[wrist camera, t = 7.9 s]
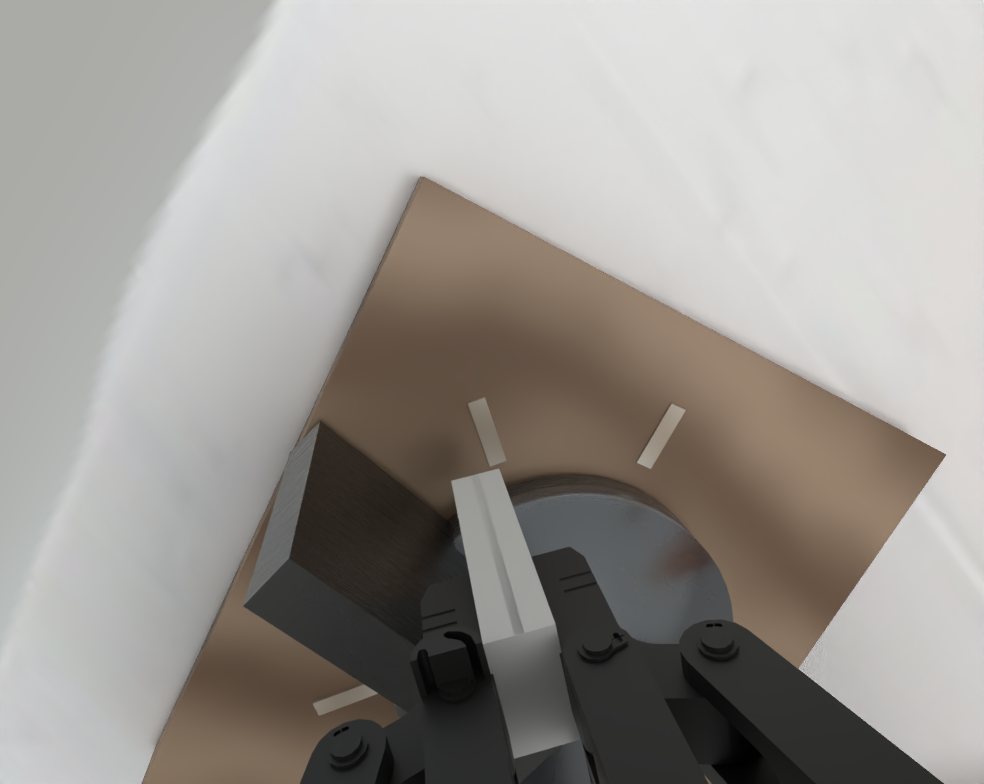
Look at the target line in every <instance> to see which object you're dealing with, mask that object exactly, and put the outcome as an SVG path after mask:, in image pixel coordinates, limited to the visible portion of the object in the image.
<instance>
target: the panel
mask: <svg viewBox="0 0 984 784" xmlns="http://www.w3.org/2000/svg"><path fill="white" fill-rule="evenodd" d="M319 421H321V422H323V423H324V424H325V425H327V426H328V427H329V428H330V429H332V430H333V431H334V432H335V433H337V434H338V435H339V436H341V437H342V438H343V439H344V440H346V441H347V442H348V443H349V444H351V445H352V446H353V447H355V448H356V449H357V450H358V451H360V452H361V453H362V454H363V455H365V456H366V457H367V458H369V459H370V460H371V461H372V462H374V463H375V464H376V465H377V466H379V467H380V468H381V469H383V470H384V471H385V472H386V473H388V474H389V475H390V476H391V477H393V478H394V479H395V480H397V481H398V482H399V483H400V484H402V485H403V486H404V487H405V488H407V489H408V490H409V491H411V492H412V493H413V494H414V495H416V496H417V497H418V498H419V499H421V500H422V501H423V502H424V503H426V504H427V505H428V506H430V507H431V508H432V509H433V510H435V511H436V512H437V513H438V514H440V515H441V516H442V517H444V518H445V519H446V520H447V521H448V520H449V519H450V518H451V517H452V516H454V515H455V514H457V508H456V503H455V498H454V493H453V488H452V482H451V481H453V480H456V479H460V478H464V477H468V476H472V475H476V474H480V473H483V472H487V471H491V470H495V469H499V470H500V472H501V475H502V478H503V481H504V483H505V486H506V487H507V486H510V485H512V484H516V483H520V482H523V481H527V480H531V479H535V478H542V477H549V476H556V475H583V476H592V477H601V478H605V479H609V480H613V481H617V482H621V483H624V484H626V485H629V486H631V487H634V488H636V489H639V490H641V491H643V492H644V493H646V494H648V495H649V496H651V497H653V498H655V499H656V500H658V501H659V502H660V503H662V504H663V505H664V506H665V507H667V508H668V509H669V510H670V511H671V512H672V513H673V514H674V515H675V516H676V517H677V518H678V519H679V520H680V521H681V522H682V523H683V525H684V526H685V527H686V528H687V529H688V530H689V531H690V533H691V534H692V535H693V536H694V537H695V538H696V539H697V541H698V542H699V543H700V544H701V545H702V546H703V547H704V549H705V550H706V551H707V552H708V553H709V555H710V556H711V558H712V559H713V561H714V562H715V564H716V565H717V567H718V568H719V570H720V572H721V574H722V576H723V579H724V581H725V583H726V585H727V589H728V592H729V596H730V600H731V604H732V612H733V622H735V623H737V624H739V625H741V626H743V627H744V628H746V629H748V630H749V631H750V632H752V633H753V634H754V635H756V636H757V637H758V638H759V639H761V640H762V641H763V642H764V643H766V644H767V645H768V646H770V647H771V648H772V649H773V650H775V651H776V652H777V653H778V654H780V655H781V656H782V657H784V658H785V659H786V660H787V661H789V662H790V663H791V664H792V665H794V666H795V667H796V668H797V669H798V668H799V666H800V665H801V664H802V662H803V661H804V659H805V658H806V656H807V655H808V653H809V652H810V651H811V649H812V648H813V646H814V645H815V643H816V642H817V641H818V639H819V638H820V636H821V635H822V633H823V632H824V630H825V629H826V628H827V626H828V625H829V623H830V622H831V620H832V619H833V617H834V616H835V615H836V613H837V612H838V610H839V609H840V607H841V606H842V604H843V603H844V602H845V600H846V599H847V597H848V596H849V594H850V593H851V591H852V590H853V589H854V587H855V586H856V584H857V583H858V581H859V580H860V578H861V577H862V576H863V574H864V573H865V571H866V570H867V568H868V567H869V566H870V564H871V563H872V561H873V560H874V558H875V557H876V555H877V554H878V553H879V551H880V550H881V548H882V547H883V545H884V544H885V542H886V541H887V540H888V538H889V537H890V535H891V534H892V532H893V531H894V529H895V528H896V527H897V525H898V524H899V522H900V521H901V519H902V518H903V516H904V515H905V514H906V512H907V511H908V509H909V508H910V506H911V505H912V504H913V502H914V501H915V499H916V498H917V496H918V495H919V493H920V492H921V491H922V489H923V488H924V486H925V485H926V483H927V482H928V480H929V479H930V478H931V476H932V475H933V473H934V472H935V470H936V469H937V467H938V466H939V465H940V463H941V462H942V460H943V459H944V457H945V456H946V454H944V453H942V452H940V451H938V450H937V449H935V448H933V447H931V446H929V445H927V444H925V443H923V442H922V441H920V440H918V439H916V438H914V437H912V436H910V435H908V434H907V433H905V432H903V431H901V430H899V429H897V428H895V427H893V426H891V425H890V424H888V423H886V422H884V421H882V420H880V419H878V418H876V417H875V416H873V415H871V414H869V413H867V412H865V411H863V410H861V409H860V408H858V407H856V406H854V405H852V404H850V403H848V402H846V401H845V400H843V399H841V398H839V397H837V396H835V395H833V394H831V393H829V392H828V391H826V390H824V389H822V388H820V387H818V386H816V385H814V384H813V383H811V382H809V381H807V380H805V379H803V378H801V377H799V376H798V375H796V374H794V373H792V372H790V371H788V370H786V369H784V368H783V367H781V366H779V365H777V364H775V363H773V362H771V361H769V360H767V359H766V358H764V357H762V356H760V355H758V354H756V353H754V352H752V351H751V350H749V349H747V348H745V347H743V346H741V345H739V344H737V343H736V342H734V341H732V340H730V339H728V338H726V337H724V336H722V335H720V334H719V333H717V332H715V331H713V330H711V329H709V328H707V327H705V326H704V325H702V324H700V323H698V322H696V321H694V320H692V319H690V318H689V317H687V316H685V315H683V314H681V313H679V312H677V311H675V310H674V309H672V308H670V307H668V306H666V305H664V304H662V303H660V302H658V301H657V300H655V299H653V298H651V297H649V296H647V295H645V294H643V293H642V292H640V291H638V290H636V289H634V288H632V287H630V286H628V285H627V284H625V283H623V282H621V281H619V280H617V279H615V278H613V277H612V276H610V275H608V274H606V273H604V272H602V271H600V270H598V269H596V268H595V267H593V266H591V265H589V264H587V263H585V262H583V261H581V260H580V259H578V258H576V257H574V256H572V255H570V254H568V253H566V252H565V251H563V250H561V249H559V248H557V247H555V246H553V245H551V244H550V243H548V242H546V241H544V240H542V239H540V238H538V237H536V236H534V235H533V234H531V233H529V232H527V231H525V230H523V229H521V228H519V227H518V226H516V225H514V224H512V223H510V222H508V221H506V220H504V219H503V218H501V217H499V216H497V215H495V214H493V213H491V212H489V211H488V210H486V209H484V208H482V207H480V206H478V205H476V204H474V203H472V202H471V201H469V200H467V199H465V198H463V197H461V196H459V195H457V194H456V193H454V192H452V191H450V190H448V189H446V188H444V187H442V186H441V185H439V184H437V183H435V182H433V181H431V180H429V179H427V178H425V177H420V179H419V181H418V183H417V185H416V187H415V190H414V192H413V194H412V196H411V198H410V200H409V203H408V205H407V207H406V209H405V211H404V213H403V215H402V218H401V220H400V222H399V224H398V226H397V228H396V231H395V233H394V235H393V237H392V239H391V241H390V243H389V246H388V248H387V250H386V252H385V254H384V256H383V259H382V261H381V263H380V265H379V267H378V269H377V271H376V274H375V276H374V278H373V280H372V282H371V284H370V287H369V289H368V291H367V293H366V295H365V297H364V299H363V302H362V304H361V306H360V308H359V310H358V312H357V315H356V317H355V319H354V321H353V323H352V325H351V327H350V330H349V332H348V334H347V336H346V338H345V340H344V343H343V345H342V347H341V349H340V351H339V353H338V355H337V358H336V360H335V362H334V364H333V366H332V368H331V371H330V373H329V375H328V377H327V379H326V381H325V383H324V386H323V388H322V390H321V392H320V394H319V396H318V399H317V401H316V403H315V405H314V407H313V409H312V411H311V414H310V416H309V418H308V420H307V422H306V424H305V427H304V429H303V431H302V433H301V435H300V437H299V439H298V442H297V444H296V446H297V445H298V444H299V443H300V442H301V441H302V440H303V439H304V437H305V436H306V435H307V434H308V433H309V432H310V431H311V430H312V429H313V428H314V427H315V426H316V425H317V424H318V423H319ZM296 446H295V447H296ZM285 469H286V467H285ZM284 472H285V470H284ZM284 472H283V474H282V476H281V478H280V480H279V483H278V485H277V487H276V489H275V491H274V493H273V495H272V498H271V500H270V502H269V504H268V506H267V508H266V511H265V513H264V515H263V517H262V519H261V521H260V523H259V526H258V528H257V530H256V532H255V534H254V536H253V539H252V541H251V543H250V545H249V547H248V549H247V551H246V554H245V556H244V558H243V560H242V562H241V564H240V567H239V569H238V571H237V573H236V575H235V577H234V579H233V582H232V584H231V586H230V588H229V590H228V592H227V595H226V597H225V599H224V601H223V603H222V605H221V607H220V610H219V612H218V614H217V616H216V618H215V620H214V623H213V625H212V627H211V629H210V631H209V633H208V635H207V638H206V640H205V642H204V644H203V646H202V648H201V651H200V653H199V655H198V657H197V659H196V661H195V663H194V666H193V668H192V670H191V672H190V674H189V676H188V679H187V681H186V683H185V685H184V687H183V689H182V691H181V694H180V696H179V698H178V700H177V702H176V704H175V707H174V709H173V711H172V713H171V715H170V717H169V719H168V722H167V724H166V726H165V728H164V730H163V732H162V735H161V737H160V739H159V741H158V743H157V745H156V747H155V750H154V753H153V755H152V758H151V760H150V763H149V766H148V768H147V771H146V773H145V776H144V778H143V781H142V784H300V781H301V779H302V777H303V774H304V772H305V769H306V767H307V764H308V762H309V759H310V757H311V754H312V752H313V751H314V749H315V747H316V746H317V744H318V742H319V741H320V740H321V739H322V738H323V737H324V736H325V735H326V734H327V733H328V732H329V731H330V730H332V729H334V728H335V727H337V726H339V725H341V724H343V723H345V722H348V721H352V720H357V719H365V720H372V721H374V722H376V723H377V724H379V725H381V726H382V728H384V727H386V726H387V725H389V724H391V723H393V722H394V721H396V720H398V719H399V717H398V714H397V711H396V708H395V705H394V703H392V702H391V701H389V700H388V699H386V698H385V697H383V696H381V695H380V694H378V693H377V692H375V691H374V690H372V689H371V688H369V687H367V686H366V685H364V684H363V683H361V682H360V681H358V680H357V679H355V678H354V677H352V676H350V675H349V674H347V673H346V672H344V671H343V670H341V669H340V668H338V667H336V666H335V665H333V664H332V663H330V662H329V661H327V660H326V659H324V658H322V657H321V656H319V655H318V654H316V653H315V652H313V651H312V650H310V649H309V648H307V647H305V646H304V645H302V644H301V643H299V642H298V641H296V640H295V639H293V638H291V637H290V636H288V635H287V634H285V633H284V632H282V631H281V630H279V629H277V628H276V627H274V626H273V625H271V624H270V623H268V622H267V621H265V620H264V619H262V618H260V617H259V616H257V615H256V614H254V613H253V612H251V611H250V610H248V609H246V608H245V607H243V605H244V601H245V598H246V595H247V592H248V588H249V585H250V582H251V579H252V575H253V572H254V569H255V566H256V563H257V559H258V556H259V553H260V550H261V546H262V543H263V540H264V537H265V533H266V530H267V527H268V524H269V520H270V517H271V514H272V511H273V507H274V504H275V501H276V498H277V495H278V491H279V488H280V485H281V482H282V478H283V475H284ZM704 776H705V775H704ZM705 778H706V780H707V781H708V783H709V784H712V783H711V782H710V781H709V780H708V778H707V777H706V776H705Z"/></svg>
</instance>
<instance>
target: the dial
mask: <svg viewBox="0 0 984 784" xmlns="http://www.w3.org/2000/svg"><path fill="white" fill-rule="evenodd" d="M506 489H507V492H508V494H509V497H510V500H511V503H512V505H513V508H514V511H515V514H516V517H517V519H518V522H519V525H520V528H521V530H522V533H523V536H524V539H525V541H526V544H527V547H528V550H529V552H530V555H531V557H532V556H536V555H540V554H543V553H547V552H551V551H555V550H558V549H562V548H566V547H571V548H573V549H574V550H576V551H577V552H579V553H580V554H582V555H583V556H584V557H585V559H586V561H587V563H588V565H589V567H590V569H591V571H592V573H593V575H594V577H595V579H596V581H597V584H598V585H599V587H600V589H601V591H602V593H603V595H604V597H605V599H606V601H607V603H608V605H609V607H610V609H611V611H612V613H613V615H614V617H615V619H616V621H617V623H618V625H619V626H620V628H622V629H624V630H626V631H627V633H628V634H629V635H630V636H631V637H632V638H634V639H636V640H638V641H642V642H646V643H650V644H679V640H680V638H681V636H682V634H683V632H684V631H685V630H686V629H688V628H689V627H690V626H692V625H693V624H695V623H698V622H702V621H705V620H719V619H722V620H726V621H731V622H733V612H732V604H731V600H730V596H729V592H728V589H727V585H726V583H725V581H724V579H723V576H722V574H721V572H720V570H719V568H718V567H717V565H716V564H715V562H714V561H713V559H712V558H711V556H710V555H709V553H708V552H707V551H706V550H705V549H704V547H703V546H702V545H701V544H700V543H699V542H698V541H697V539H696V538H695V537H694V536H693V535H692V534H691V533H690V531H689V530H688V529H687V528H686V527H685V526H684V525H683V523H682V522H681V521H680V520H679V519H678V518H677V517H676V516H675V515H674V514H673V513H672V512H671V511H670V510H669V509H668V508H667V507H665V506H664V505H663V504H662V503H660V502H659V501H658V500H656V499H655V498H653V497H651V496H649V495H648V494H646V493H644V492H643V491H641V490H639V489H636V488H634V487H631V486H629V485H626V484H624V483H621V482H617V481H613V480H609V479H605V478H601V477H592V476H583V475H556V476H549V477H542V478H535V479H531V480H527V481H523V482H520V483H516V484H512V485H510V486H507V487H506ZM467 575H469V570H468V565H467V560H466V555H465V550H464V545H463V539H462V534H461V529H460V524H459V519H458V513H457V514H455V515H454V516H452V517H451V518H450V519H449V520H448V521H447V520H446V519H445V518H444V517H442V516H441V515H440V514H438V513H437V512H436V511H435V510H433V509H432V508H431V507H430V506H428V505H427V504H426V503H424V502H423V501H422V500H421V499H419V498H418V497H417V496H416V495H414V494H413V493H412V492H411V491H409V490H408V489H407V488H405V487H404V486H403V485H402V484H400V483H399V482H398V481H397V480H395V479H394V478H393V477H391V476H390V475H389V474H388V473H386V472H385V471H384V470H383V469H381V468H380V467H379V466H377V465H376V464H375V463H374V462H372V461H371V460H370V459H369V458H367V457H366V456H365V455H363V454H362V453H361V452H360V451H358V450H357V449H356V448H355V447H353V446H352V445H351V444H349V443H348V442H347V441H346V440H344V439H343V438H342V437H341V436H339V435H338V434H337V433H335V432H334V431H333V430H332V429H330V428H329V427H328V426H327V425H325V424H324V423H323V422H321V421H319V423H318V424H317V425H316V426H315V427H314V428H313V429H312V430H311V431H310V432H309V433H308V434H307V435H306V436H305V437H304V439H303V440H302V441H301V442H300V443H299V444H298V445H297V446H296V447H295V448H294V449H293V450H292V451H291V452H290V456H289V459H288V462H287V465H286V469H285V472H284V475H283V478H282V482H281V485H280V488H279V491H278V495H277V498H276V501H275V504H274V507H273V511H272V514H271V517H270V520H269V524H268V527H267V530H266V533H265V537H264V540H263V543H262V546H261V550H260V553H259V556H258V559H257V563H256V566H255V569H254V572H253V575H252V579H251V582H250V585H249V588H248V592H247V595H246V598H245V601H244V605H243V607H245V608H246V609H248V610H250V611H251V612H253V613H254V614H256V615H257V616H259V617H260V618H262V619H264V620H265V621H267V622H268V623H270V624H271V625H273V626H274V627H276V628H277V629H279V630H281V631H282V632H284V633H285V634H287V635H288V636H290V637H291V638H293V639H295V640H296V641H298V642H299V643H301V644H302V645H304V646H305V647H307V648H309V649H310V650H312V651H313V652H315V653H316V654H318V655H319V656H321V657H322V658H324V659H326V660H327V661H329V662H330V663H332V664H333V665H335V666H336V667H338V668H340V669H341V670H343V671H344V672H346V673H347V674H349V675H350V676H352V677H354V678H355V679H357V680H358V681H360V682H361V683H363V684H364V685H366V686H367V687H369V688H371V689H372V690H374V691H375V692H377V693H378V694H380V695H381V696H383V697H385V698H386V699H388V700H389V701H391V702H392V703H394V705H395V708H396V711H397V714H398V717H399V718H401V717H402V716H404V715H405V714H407V713H408V712H409V711H410V710H411V709H412V708H413V707H414V706H415V705H416V704H417V703H418V701H419V700H420V698H421V696H420V693H419V690H418V687H417V684H416V680H415V677H414V674H413V671H412V668H411V665H410V658H411V654H412V651H413V649H414V648H415V647H416V645H417V644H418V643H419V641H421V640H422V639H423V628H422V614H421V600H422V598H423V596H424V594H425V592H426V590H427V588H428V586H429V585H433V584H437V583H441V582H444V581H448V580H452V579H456V578H460V577H463V576H467ZM579 735H580V734H579ZM514 761H515V768H516V771H517V775H518V779H519V783H520V784H591V781H590V776H589V772H588V767H587V763H586V758H585V753H584V749H583V744H582V740H581V737H580V740H577V741H574V742H570V743H567V744H563V745H560V746H556V747H553V748H550V749H546V750H543V751H539V752H536V753H532V754H529V755H525V756H522V757H518V758H515V759H514Z"/></svg>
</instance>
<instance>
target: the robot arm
mask: <svg viewBox="0 0 984 784" xmlns="http://www.w3.org/2000/svg"><path fill="white" fill-rule="evenodd" d="M451 482H452V488H453V493H454V498H455V503H456V508H457V513H458V519H459V524H460V529H461V534H462V539H463V545H464V550H465V555H466V560H467V565H468V570H469V575H467V576H463V577H460V578H456V579H452V580H448V581H444V582H441V583H437V584H433V585H429V586H428V588H427V590H426V592H425V594H424V596H423V598H422V600H421V614H422V628H423V639H422V640H421V641H419V643H418V644H417V645H416V647H415V648H414V649H413V651H412V654H411V658H410V665H411V668H412V671H413V674H414V677H415V680H416V684H417V687H418V690H419V693H420V696H421V698H420V700H419V701H418V703H417V704H416V705H415V706H414V707H413V708H412V709H411V710H410V711H409V712H408V713H407V714H405V715H404V716H402V717H401V718H399V719H398V720H396V721H394V722H393V723H391V724H389V725H387V726H386V727H384V728H382V726H381V725H379V724H377V723H376V722H374V721H372V720H365V719H357V720H352V721H348V722H345V723H343V724H341V725H339V726H337V727H335V728H334V729H332V730H330V731H329V732H328V733H327V734H326V735H325V736H324V737H323V738H322V739H321V740H320V741H319V742H318V744H317V746H316V747H315V749H314V751H313V752H312V754H311V757H310V759H309V762H308V764H307V767H306V769H305V772H304V774H303V777H302V779H301V781H300V784H520V783H519V779H518V775H517V771H516V768H515V761H514V759H515V758H518V757H522V756H525V755H529V754H532V753H536V752H539V751H543V750H546V749H550V748H553V747H556V746H560V745H563V744H567V743H570V742H574V741H577V740H580V737H581V740H582V744H583V749H584V753H585V758H586V763H587V767H588V772H589V776H590V781H591V784H709V783H708V781H707V780H706V778H705V776H706V777H707V778H708V780H709V781H710V782H711V783H712V784H944V783H942V782H941V781H940V780H939V779H937V778H936V777H935V776H933V775H932V774H931V773H930V772H928V771H927V770H926V769H925V768H923V767H922V766H921V765H920V764H918V763H917V762H916V761H914V760H913V759H912V758H911V757H909V756H908V755H907V754H906V753H904V752H903V751H902V750H900V749H899V748H898V747H897V746H895V745H894V744H893V743H892V742H890V741H889V740H888V739H886V738H885V737H884V736H883V735H881V734H880V733H879V732H878V731H876V730H875V729H874V728H872V727H871V726H870V725H869V724H867V723H866V722H865V721H864V720H862V719H861V718H860V717H858V716H857V715H856V714H855V713H853V712H852V711H851V710H850V709H848V708H847V707H846V706H845V705H843V704H842V703H841V702H839V701H838V700H837V699H836V698H834V697H833V696H832V695H831V694H829V693H828V692H827V691H825V690H824V689H823V688H822V687H820V686H819V685H818V684H817V683H815V682H814V681H813V680H811V679H810V678H809V677H808V676H806V675H805V674H804V673H803V672H801V671H800V670H799V669H797V668H796V667H795V666H794V665H792V664H791V663H790V662H789V661H787V660H786V659H785V658H784V657H782V656H781V655H780V654H778V653H777V652H776V651H775V650H773V649H772V648H771V647H770V646H768V645H767V644H766V643H764V642H763V641H762V640H761V639H759V638H758V637H757V636H756V635H754V634H753V633H752V632H750V631H749V630H748V629H746V628H744V627H743V626H741V625H739V624H737V623H735V622H731V621H726V620H722V619H719V620H705V621H702V622H698V623H695V624H693V625H692V626H690V627H689V628H688V629H686V630H685V631H684V632H683V634H682V636H681V638H680V640H679V644H650V643H646V642H642V641H638V640H636V639H634V638H632V637H631V636H630V635H629V634H628V633H627V631H626V630H624V629H622V628H620V626H619V625H618V623H617V621H616V619H615V617H614V615H613V613H612V611H611V609H610V607H609V605H608V603H607V601H606V599H605V597H604V595H603V593H602V591H601V589H600V587H599V585H598V584H597V581H596V579H595V577H594V575H593V573H592V571H591V569H590V567H589V565H588V563H587V561H586V559H585V557H584V556H583V555H582V554H580V553H579V552H577V551H576V550H574V549H573V548H571V547H566V548H562V549H558V550H555V551H551V552H547V553H543V554H540V555H536V556H532V557H531V555H530V552H529V550H528V547H527V544H526V541H525V539H524V536H523V533H522V530H521V528H520V525H519V522H518V519H517V517H516V514H515V511H514V508H513V505H512V503H511V500H510V497H509V494H508V492H507V489H506V486H505V483H504V481H503V478H502V475H501V472H500V470H499V469H495V470H491V471H487V472H483V473H480V474H476V475H472V476H468V477H464V478H460V479H456V480H453V481H451ZM579 734H580V735H579ZM704 775H705V776H704Z"/></svg>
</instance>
